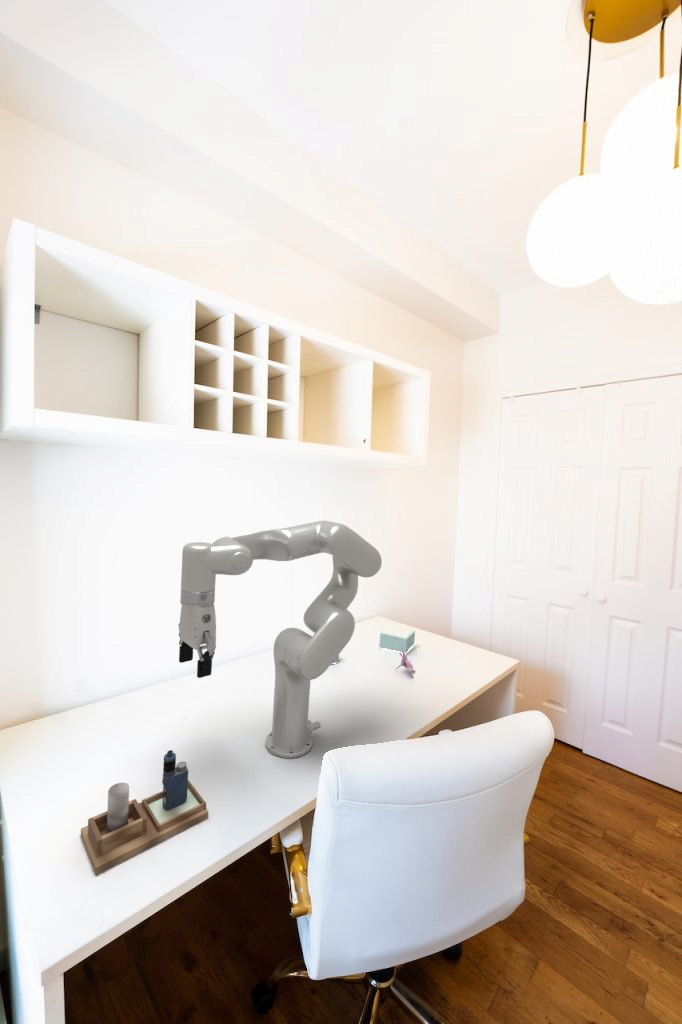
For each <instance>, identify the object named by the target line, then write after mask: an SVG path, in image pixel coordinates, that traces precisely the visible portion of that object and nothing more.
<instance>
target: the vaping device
mask: <svg viewBox="0 0 682 1024" xmlns="http://www.w3.org/2000/svg"><path fill="white" fill-rule="evenodd" d="M176 760H177V754H176V753H175V752H174V751H173V750H171V749H170V750H167V753H165V754H164V755H163V772H162V780H161V782H162V788H163V789H162V791H163V804H162V805H163V809H164V810H166V811H167V810H170V809H172V808H174V807H177V806H179V805H181V804H183V803H185V802H186V799H187V791H188V780H189V770H188V766H187V762H185V761H179V762H178V763H177V762H176Z"/></svg>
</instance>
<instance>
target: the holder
mask: <svg viewBox="0 0 682 1024" xmlns="http://www.w3.org/2000/svg"><path fill="white" fill-rule="evenodd" d="M162 804H163V790H162V791H160V792H156V793H155V794H153V795H150V796H148V797H145V798H143V799H141V802H138V801H137V798H135V799H132V800H130V785H129V784H128V783H127V782H118V783H115V784H113V785H112V786H110V787H109V788H108V790H107V810H106V811H104V812H102V813H100V814H97V815H95V816H92V817H90V818H88V820H87V825H85V826H84V827H81V828H80V838H81V841H82V843H83V847H84V848H85V851H86V853H87V856H88V859H89V862H90V864H91V867H92V870H93V872H94V875H95V876H99V875H100V874H103V873H105V872H106V871H108V870H111V869H112V868H114V867H116V866H118V865H119V864H121V863H124V862H126V861H127V860H129V859H131V858H133V857H135V856H138V855H139V854H141V853H143V852H146V851H147V850H149V849H151V848H153V847H155V846H157V845H159V844H161V843H162V842H164V841H166V840H168V839H170V838H173V837H175V836H176V835H178V834H180V833H183V832H184V831H186V830H188V829H190V828H192V827H194V826H195V825H197V824H199V823H201V822H204V821H205V820H208V819H209V810H208V809H207V801H205V799H204V798H203V797H202V795H201V794H200V793H199V792H198V790H197V789H196V788H195V786H194V785H193V784H192V783H191V782H190V780H189V779H188V791H187V799H186V802H185V803H183V804H181V805H179V806H177V807H174V808H172V809H170V810H167V811H166V810H164V809H163V805H162Z"/></svg>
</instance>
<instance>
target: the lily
mask: <svg viewBox="0 0 682 1024" xmlns="http://www.w3.org/2000/svg"><path fill="white" fill-rule="evenodd" d="M400 647H401V645H400ZM401 649H402V653H403V656H402V654H401V653H399V654H400V655H399V656H401V662H400V665H398V666H397V667H396V669H399V668H400V667H401V666H402V667H405V668H406V669H407V670H408V671H409V672H410V673H411V671H414V670H413V667H414V666H413V664H412V663H411V662H412V661H411V660H410V659H408V657H407V655H405V653H404V650H403V648H402V647H401Z"/></svg>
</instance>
